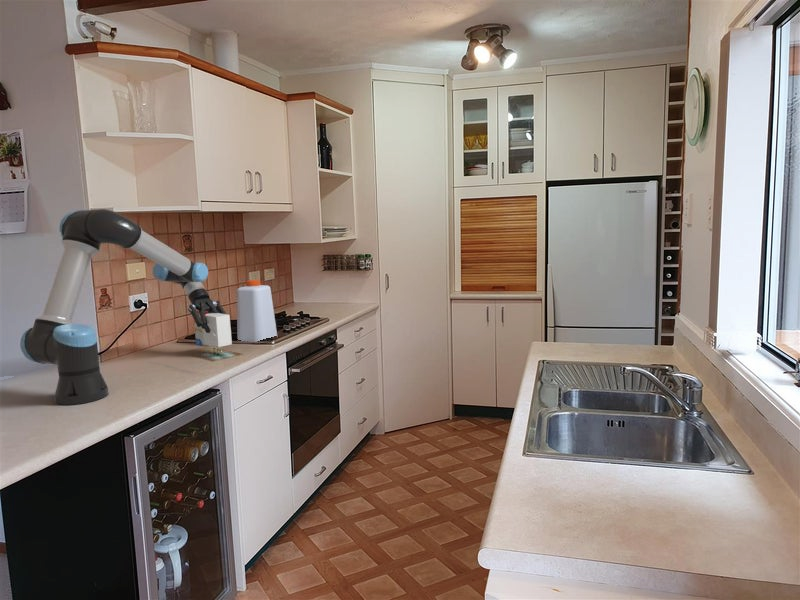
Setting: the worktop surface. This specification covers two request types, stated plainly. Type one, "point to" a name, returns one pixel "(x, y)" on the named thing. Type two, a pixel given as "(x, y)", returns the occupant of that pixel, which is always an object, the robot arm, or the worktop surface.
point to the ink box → (199, 334)
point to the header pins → (217, 352)
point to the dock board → (216, 357)
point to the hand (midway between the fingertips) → (222, 336)
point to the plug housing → (218, 330)
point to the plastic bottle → (255, 312)
